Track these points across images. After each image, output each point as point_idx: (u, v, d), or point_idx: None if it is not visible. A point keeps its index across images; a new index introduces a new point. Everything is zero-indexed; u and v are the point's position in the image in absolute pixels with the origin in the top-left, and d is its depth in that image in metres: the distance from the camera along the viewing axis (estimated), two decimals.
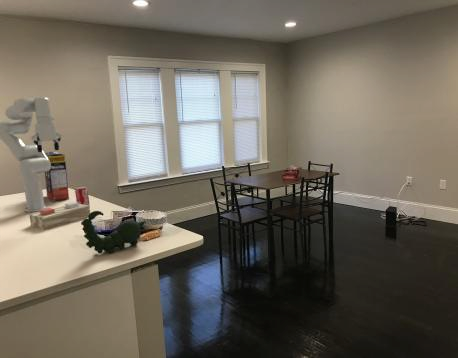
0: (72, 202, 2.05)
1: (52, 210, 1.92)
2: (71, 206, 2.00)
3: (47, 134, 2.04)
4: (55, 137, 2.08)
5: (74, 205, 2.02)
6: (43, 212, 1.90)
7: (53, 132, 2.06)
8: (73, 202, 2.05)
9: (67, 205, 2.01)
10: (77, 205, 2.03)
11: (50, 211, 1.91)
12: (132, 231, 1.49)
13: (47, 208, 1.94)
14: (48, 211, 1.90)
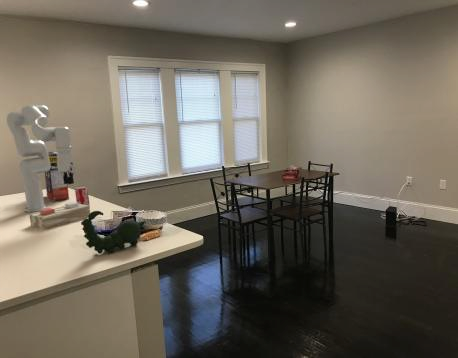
0: (72, 202, 2.05)
1: (52, 210, 1.92)
2: (71, 206, 2.00)
3: None
4: None
5: (74, 205, 2.02)
6: (43, 212, 1.90)
7: None
8: (73, 202, 2.05)
9: (67, 205, 2.01)
10: (77, 205, 2.03)
11: (50, 211, 1.91)
12: (132, 231, 1.49)
13: (47, 208, 1.94)
14: (48, 211, 1.90)
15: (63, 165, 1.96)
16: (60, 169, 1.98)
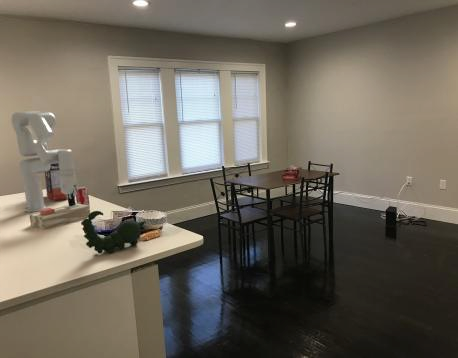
0: None
1: (52, 210, 1.92)
2: None
3: None
4: None
5: (74, 207, 2.02)
6: (43, 212, 1.90)
7: None
8: None
9: (67, 207, 2.02)
10: None
11: (50, 211, 1.91)
12: (132, 231, 1.49)
13: (47, 208, 1.94)
14: (48, 211, 1.90)
15: (66, 187, 1.98)
16: (63, 191, 2.00)
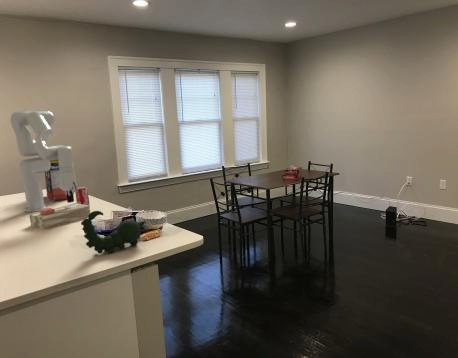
0: (72, 205, 2.05)
1: (52, 210, 1.92)
2: None
3: None
4: None
5: None
6: (43, 212, 1.90)
7: None
8: (73, 205, 2.05)
9: None
10: None
11: (50, 211, 1.91)
12: (132, 231, 1.49)
13: (47, 208, 1.94)
14: (48, 211, 1.90)
15: (65, 184, 1.98)
16: (62, 188, 2.00)
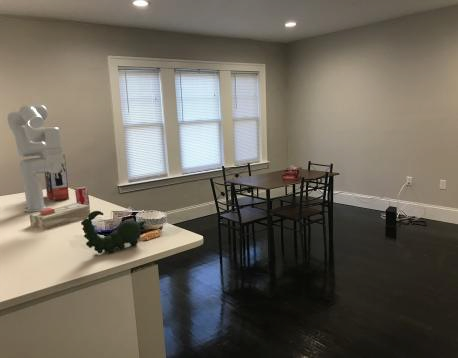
0: (72, 205, 2.05)
1: (52, 210, 1.92)
2: None
3: None
4: None
5: None
6: (43, 212, 1.90)
7: None
8: (73, 205, 2.05)
9: None
10: None
11: (50, 211, 1.91)
12: (132, 231, 1.49)
13: (47, 208, 1.94)
14: (48, 211, 1.90)
15: (53, 166, 1.92)
16: (50, 171, 1.94)
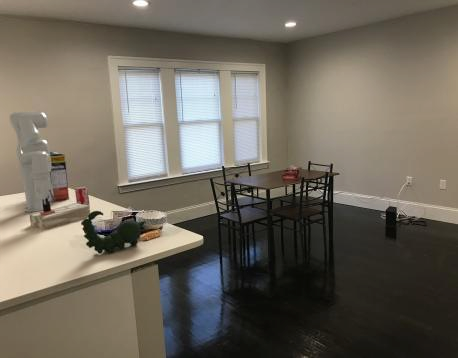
0: (72, 205, 2.05)
1: (52, 212, 1.92)
2: None
3: None
4: None
5: None
6: (43, 214, 1.90)
7: None
8: (73, 205, 2.05)
9: None
10: None
11: (50, 213, 1.91)
12: (132, 231, 1.49)
13: None
14: (48, 213, 1.90)
15: (40, 192, 1.87)
16: (38, 196, 1.89)
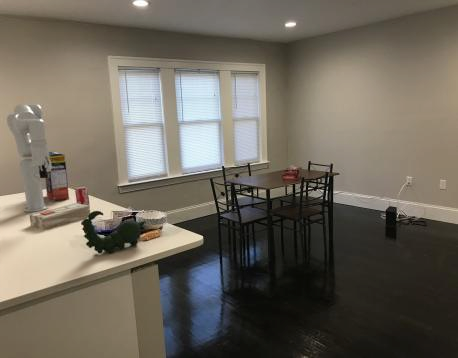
0: (72, 205, 2.05)
1: None
2: None
3: None
4: None
5: None
6: None
7: None
8: (73, 205, 2.05)
9: None
10: None
11: None
12: (132, 231, 1.49)
13: (47, 211, 1.94)
14: None
15: (37, 159, 1.91)
16: (34, 163, 1.94)
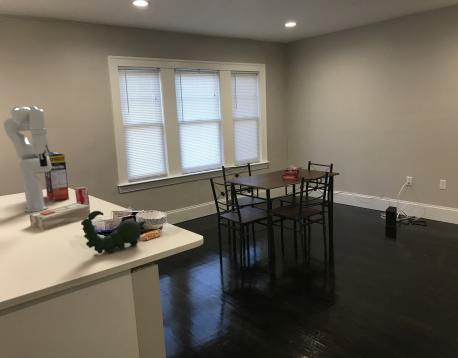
0: (72, 205, 2.05)
1: None
2: None
3: None
4: None
5: None
6: None
7: None
8: (73, 205, 2.05)
9: None
10: None
11: None
12: (132, 231, 1.49)
13: (47, 211, 1.94)
14: None
15: (37, 147, 1.96)
16: (35, 152, 1.99)
